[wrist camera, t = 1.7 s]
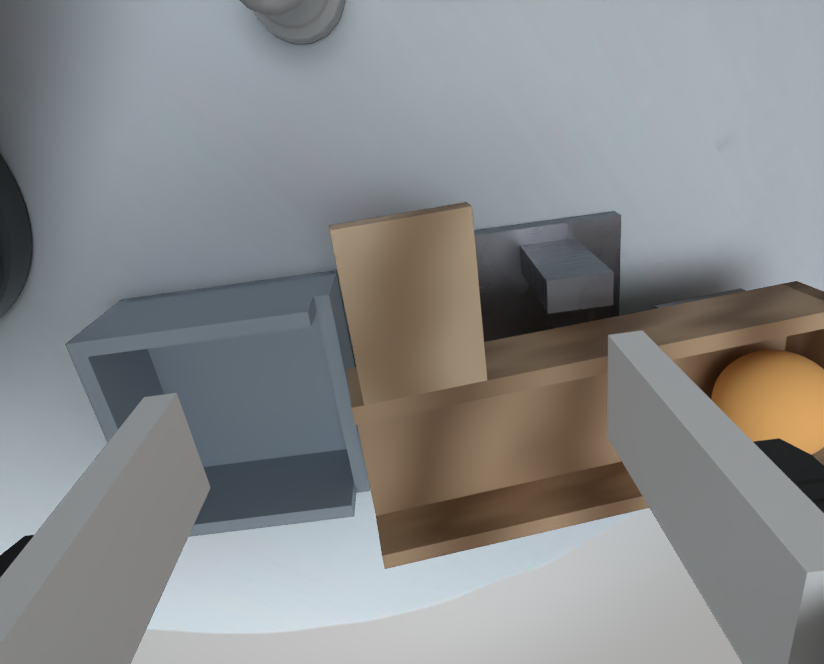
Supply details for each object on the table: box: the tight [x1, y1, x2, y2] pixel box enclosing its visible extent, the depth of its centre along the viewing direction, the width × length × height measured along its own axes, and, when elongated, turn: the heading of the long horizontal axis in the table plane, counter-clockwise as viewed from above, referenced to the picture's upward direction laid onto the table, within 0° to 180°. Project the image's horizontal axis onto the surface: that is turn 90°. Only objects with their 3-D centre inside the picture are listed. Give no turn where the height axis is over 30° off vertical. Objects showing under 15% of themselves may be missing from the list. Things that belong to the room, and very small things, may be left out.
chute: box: [329, 202, 824, 569], centre depth 26 cm, size 22×16×6 cm
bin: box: [65, 270, 370, 537], centre depth 32 cm, size 13×13×6 cm
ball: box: [711, 350, 824, 455], centre depth 25 cm, size 5×5×5 cm
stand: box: [474, 211, 621, 342], centre depth 31 cm, size 8×15×7 cm, turn 8°
